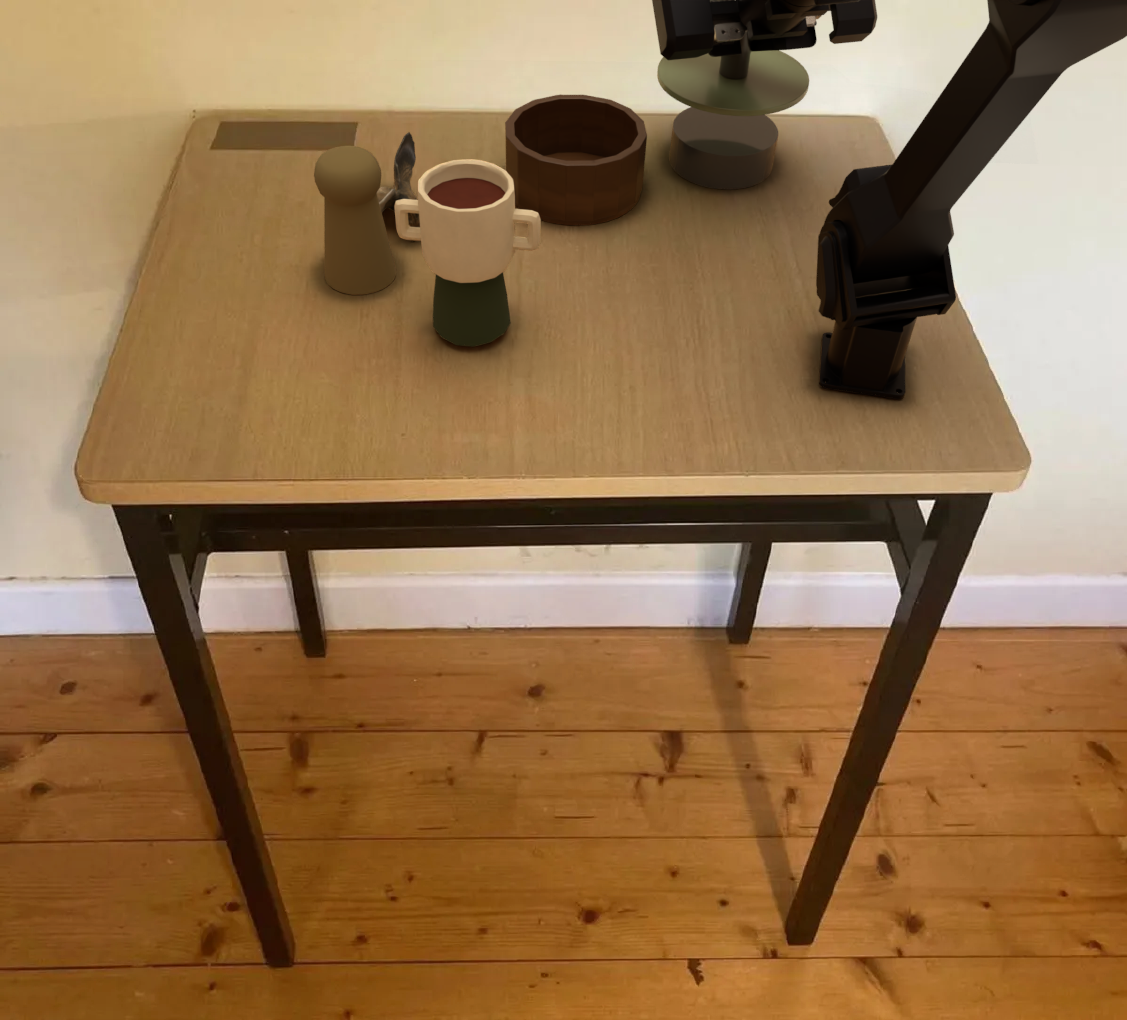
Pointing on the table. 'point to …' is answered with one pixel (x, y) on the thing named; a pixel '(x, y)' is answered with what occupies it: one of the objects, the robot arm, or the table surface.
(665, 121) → the table surface
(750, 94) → the lid
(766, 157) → the disc
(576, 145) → the brown round pot
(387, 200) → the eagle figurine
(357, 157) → the brown pawn
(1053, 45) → the robot arm
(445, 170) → the character mug
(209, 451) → the table surface
